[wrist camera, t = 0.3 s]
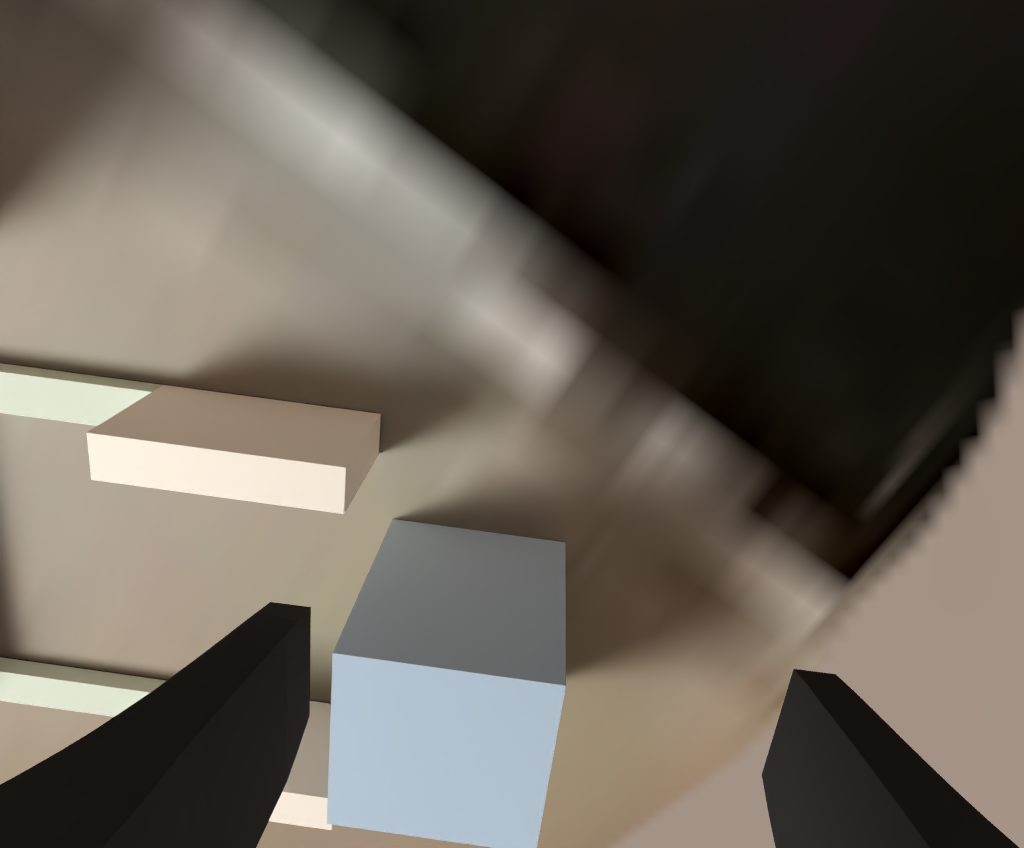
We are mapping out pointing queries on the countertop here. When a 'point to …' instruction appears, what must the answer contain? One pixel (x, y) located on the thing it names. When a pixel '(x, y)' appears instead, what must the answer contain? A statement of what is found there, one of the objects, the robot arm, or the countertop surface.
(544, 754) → the block
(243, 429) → the channel
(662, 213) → the countertop surface
